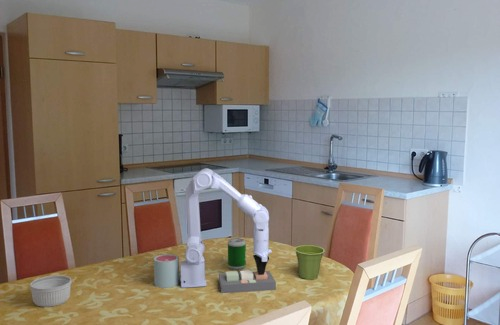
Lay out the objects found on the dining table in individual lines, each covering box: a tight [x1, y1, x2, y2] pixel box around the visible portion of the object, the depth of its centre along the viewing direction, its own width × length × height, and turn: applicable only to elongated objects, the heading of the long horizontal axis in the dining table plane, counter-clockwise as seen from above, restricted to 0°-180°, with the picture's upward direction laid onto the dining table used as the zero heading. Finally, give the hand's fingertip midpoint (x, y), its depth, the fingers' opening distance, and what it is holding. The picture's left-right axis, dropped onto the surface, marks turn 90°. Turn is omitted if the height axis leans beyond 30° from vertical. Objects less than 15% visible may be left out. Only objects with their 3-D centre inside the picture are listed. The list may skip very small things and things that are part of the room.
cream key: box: [239, 269, 253, 280], centre depth 173 cm, size 4×4×4 cm
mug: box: [153, 253, 180, 289], centre depth 177 cm, size 14×9×10 cm
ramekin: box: [29, 274, 72, 308], centre depth 159 cm, size 13×13×7 cm
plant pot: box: [294, 244, 325, 280], centre depth 182 cm, size 12×12×11 cm
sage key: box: [225, 270, 239, 281], centre depth 172 cm, size 4×4×4 cm
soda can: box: [227, 237, 247, 271], centre depth 192 cm, size 8×8×12 cm
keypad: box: [218, 270, 277, 294], centre depth 173 cm, size 20×12×3 cm, turn 99°
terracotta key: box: [253, 271, 268, 280], centre depth 174 cm, size 4×4×4 cm
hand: (260, 274), depth 174 cm, fingers closed, pressing on terracotta key
